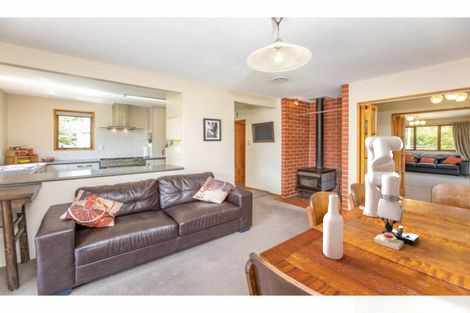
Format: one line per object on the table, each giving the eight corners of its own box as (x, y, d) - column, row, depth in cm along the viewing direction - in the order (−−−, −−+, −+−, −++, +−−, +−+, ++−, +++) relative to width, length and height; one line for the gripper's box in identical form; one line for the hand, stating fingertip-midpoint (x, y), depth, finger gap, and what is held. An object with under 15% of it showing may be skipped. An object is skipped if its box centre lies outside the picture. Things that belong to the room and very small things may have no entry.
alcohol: (342, 262, 94) (343, 198, 92) (321, 256, 99) (322, 196, 97) (343, 252, 102) (344, 194, 100) (324, 248, 106) (325, 192, 104)
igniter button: (383, 236, 110) (383, 233, 110) (385, 234, 112) (385, 231, 112) (391, 239, 107) (391, 236, 107) (393, 237, 109) (393, 234, 109)
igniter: (373, 242, 112) (373, 234, 112) (379, 237, 117) (379, 230, 116) (398, 250, 103) (398, 242, 103) (403, 245, 108) (403, 237, 108)
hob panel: (381, 236, 118) (382, 231, 118) (387, 231, 124) (388, 226, 124) (413, 246, 107) (413, 240, 106) (418, 240, 113) (418, 234, 112)
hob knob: (399, 231, 117) (399, 225, 117) (402, 232, 116) (403, 226, 115) (397, 234, 114) (397, 227, 114) (400, 234, 113) (400, 228, 113)
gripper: (410, 199, 104) (408, 234, 106) (376, 193, 116) (375, 224, 117) (405, 202, 100) (404, 238, 101) (371, 195, 112) (370, 228, 113)
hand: (388, 231), depth 109 cm, fingers closed
